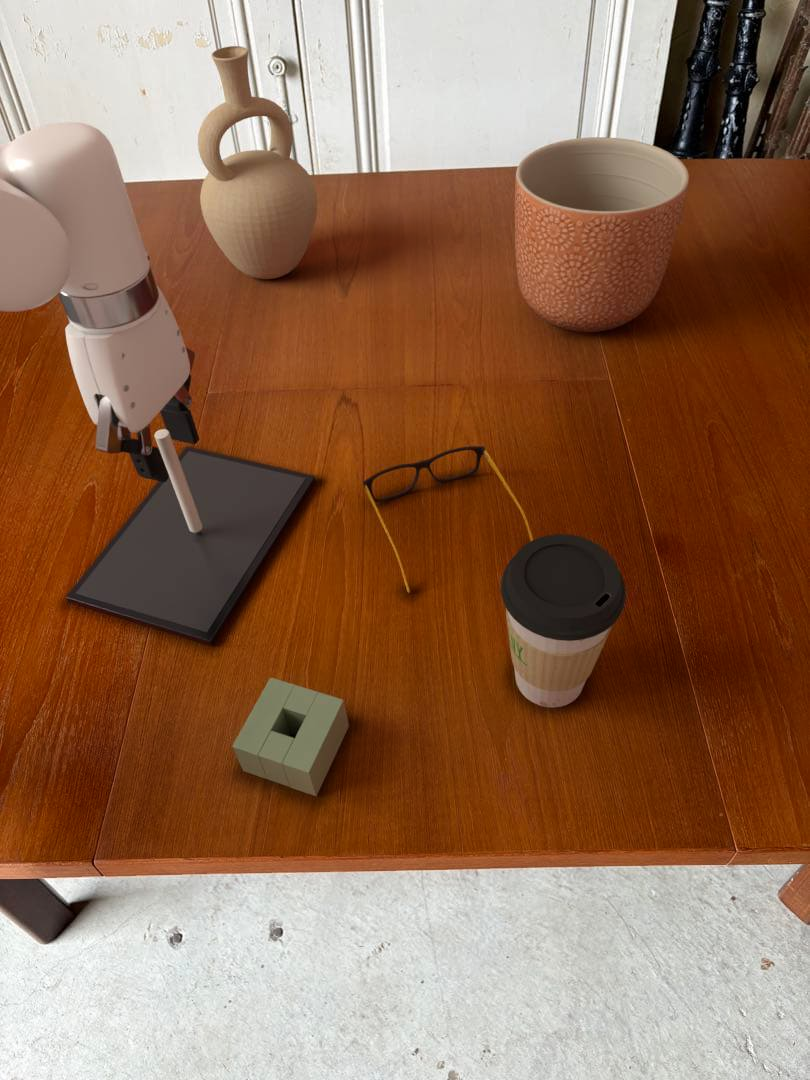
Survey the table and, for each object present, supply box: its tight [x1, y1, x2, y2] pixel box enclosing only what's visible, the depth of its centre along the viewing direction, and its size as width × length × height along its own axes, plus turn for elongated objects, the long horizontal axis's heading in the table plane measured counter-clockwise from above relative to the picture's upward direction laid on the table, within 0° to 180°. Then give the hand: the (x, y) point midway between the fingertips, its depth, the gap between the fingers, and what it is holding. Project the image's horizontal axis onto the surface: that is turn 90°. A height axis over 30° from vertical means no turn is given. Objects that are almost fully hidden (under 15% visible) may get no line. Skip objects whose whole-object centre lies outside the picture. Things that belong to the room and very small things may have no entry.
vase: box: [197, 45, 318, 280], centre depth 114 cm, size 17×17×30 cm
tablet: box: [65, 446, 317, 647], centre depth 88 cm, size 17×24×1 cm
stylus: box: [154, 428, 202, 535], centre depth 82 cm, size 1×1×14 cm
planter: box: [514, 136, 690, 333], centre depth 106 cm, size 21×21×19 cm
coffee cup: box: [500, 533, 627, 709], centre depth 69 cm, size 10×10×15 cm
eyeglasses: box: [362, 445, 534, 593], centre depth 86 cm, size 14×14×4 cm
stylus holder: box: [231, 677, 350, 797], centre depth 69 cm, size 7×7×4 cm
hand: (169, 456), depth 79 cm, fingers open, 4 cm apart
